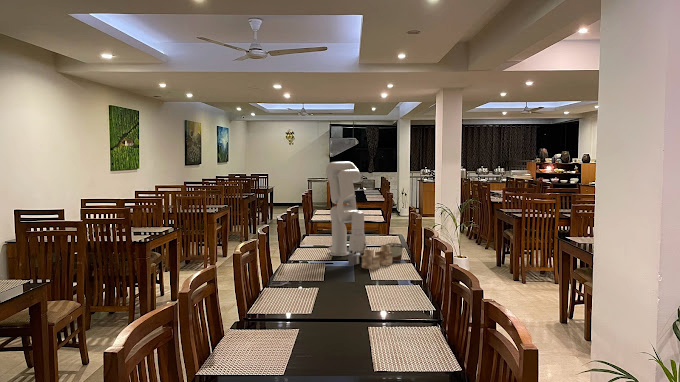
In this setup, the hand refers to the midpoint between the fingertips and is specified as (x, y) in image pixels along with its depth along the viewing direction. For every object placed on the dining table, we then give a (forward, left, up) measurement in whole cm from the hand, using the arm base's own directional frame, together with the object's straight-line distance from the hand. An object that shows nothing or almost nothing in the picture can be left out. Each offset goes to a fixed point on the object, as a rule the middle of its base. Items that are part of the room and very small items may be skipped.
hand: (358, 261), depth 304 cm
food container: (+13, +19, -1) cm, 23 cm away
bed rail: (0, 0, 0) cm, 0 cm away
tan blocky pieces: (+14, 0, 0) cm, 14 cm away
